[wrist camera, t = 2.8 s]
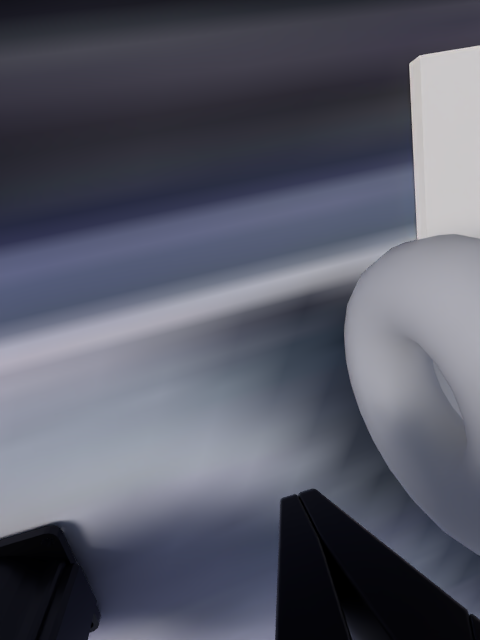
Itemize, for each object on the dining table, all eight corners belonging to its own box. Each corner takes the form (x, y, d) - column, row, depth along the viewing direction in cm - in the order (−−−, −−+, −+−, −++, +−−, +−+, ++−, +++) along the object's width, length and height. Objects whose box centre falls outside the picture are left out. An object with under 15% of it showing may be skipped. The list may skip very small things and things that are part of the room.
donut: (313, 245, 14) (610, 262, 4) (387, 226, 14) (817, 205, 5) (343, 439, 17) (562, 716, 7) (404, 420, 17) (692, 659, 7)
